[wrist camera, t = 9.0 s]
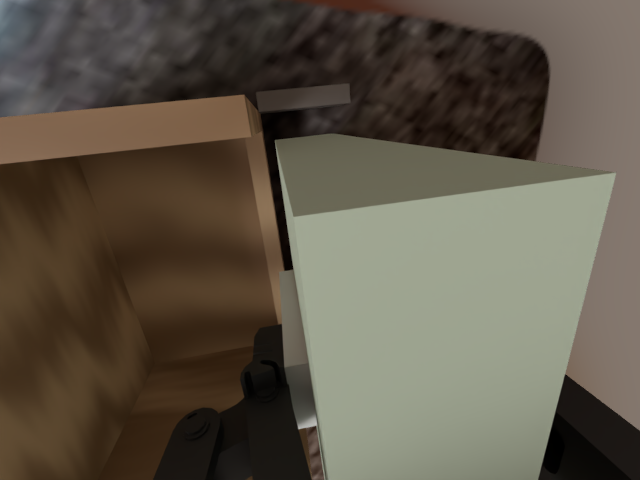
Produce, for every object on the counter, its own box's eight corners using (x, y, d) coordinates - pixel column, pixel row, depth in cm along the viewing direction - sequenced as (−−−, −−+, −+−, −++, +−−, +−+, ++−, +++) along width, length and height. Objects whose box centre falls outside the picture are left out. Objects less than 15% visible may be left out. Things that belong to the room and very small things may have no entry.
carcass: (355, 338, 27) (423, 509, 15) (153, 375, 25) (46, 603, 13) (338, 89, 20) (443, 31, 8) (53, 116, 18) (-387, 96, 6)
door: (367, 357, 21) (514, 714, 8) (307, 368, 21) (367, 763, 8) (355, 131, 16) (726, 156, 3) (274, 140, 15) (293, 216, 2)
